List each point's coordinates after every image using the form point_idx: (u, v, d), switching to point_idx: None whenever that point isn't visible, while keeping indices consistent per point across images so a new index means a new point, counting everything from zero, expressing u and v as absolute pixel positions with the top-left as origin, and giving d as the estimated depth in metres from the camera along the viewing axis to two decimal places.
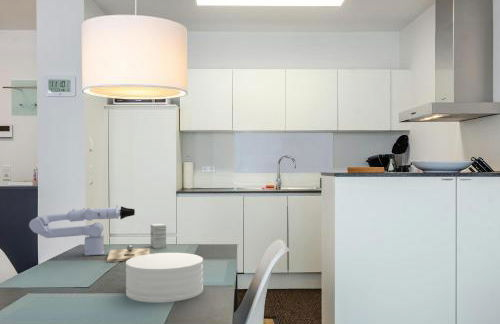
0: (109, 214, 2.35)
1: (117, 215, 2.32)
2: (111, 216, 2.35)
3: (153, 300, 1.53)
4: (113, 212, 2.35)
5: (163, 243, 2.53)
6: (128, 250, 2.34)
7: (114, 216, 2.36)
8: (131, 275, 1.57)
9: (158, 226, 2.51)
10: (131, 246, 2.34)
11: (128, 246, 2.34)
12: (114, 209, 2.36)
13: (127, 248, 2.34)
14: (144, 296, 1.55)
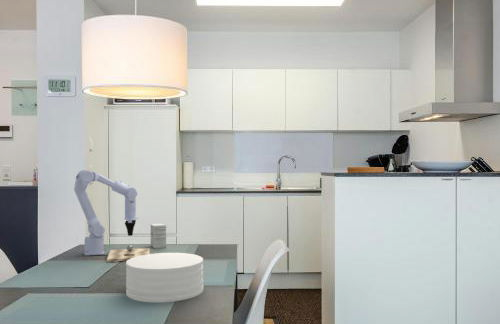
0: (129, 211, 2.43)
1: (129, 220, 2.38)
2: (127, 213, 2.43)
3: (153, 300, 1.53)
4: (131, 215, 2.43)
5: (163, 243, 2.53)
6: (128, 250, 2.34)
7: (127, 216, 2.43)
8: (131, 275, 1.57)
9: (158, 226, 2.51)
10: (131, 246, 2.34)
11: (128, 246, 2.34)
12: (134, 216, 2.44)
13: (127, 248, 2.34)
14: (144, 296, 1.55)
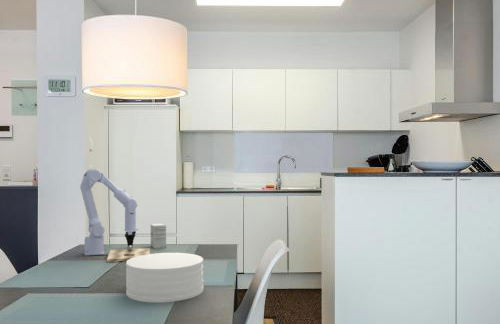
0: (129, 223, 2.42)
1: (129, 232, 2.38)
2: (127, 225, 2.43)
3: (153, 300, 1.53)
4: (131, 227, 2.43)
5: (163, 243, 2.53)
6: (128, 250, 2.34)
7: (127, 228, 2.43)
8: (131, 275, 1.57)
9: (158, 226, 2.51)
10: (131, 246, 2.34)
11: (128, 246, 2.34)
12: (134, 227, 2.44)
13: (127, 248, 2.34)
14: (144, 296, 1.55)
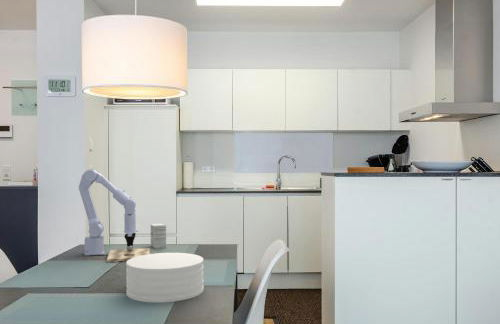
0: (129, 224, 2.37)
1: (128, 234, 2.32)
2: (127, 226, 2.37)
3: (154, 300, 1.53)
4: (131, 228, 2.37)
5: (163, 243, 2.53)
6: (128, 250, 2.34)
7: (127, 229, 2.37)
8: (132, 275, 1.57)
9: (158, 226, 2.51)
10: (131, 246, 2.34)
11: (128, 246, 2.34)
12: (134, 229, 2.38)
13: (127, 248, 2.34)
14: (145, 296, 1.55)
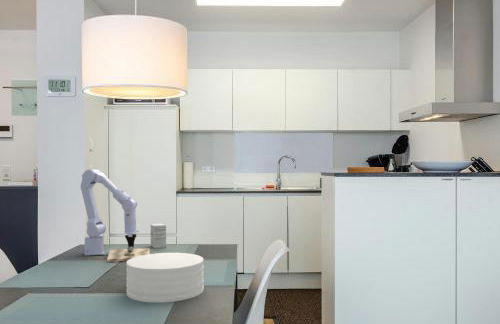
0: (129, 225, 2.31)
1: (129, 234, 2.27)
2: (127, 227, 2.31)
3: (154, 300, 1.53)
4: (131, 228, 2.31)
5: (163, 243, 2.53)
6: None
7: (127, 229, 2.31)
8: (132, 275, 1.57)
9: (158, 226, 2.51)
10: None
11: (129, 251, 2.31)
12: (134, 229, 2.32)
13: None
14: (145, 296, 1.55)
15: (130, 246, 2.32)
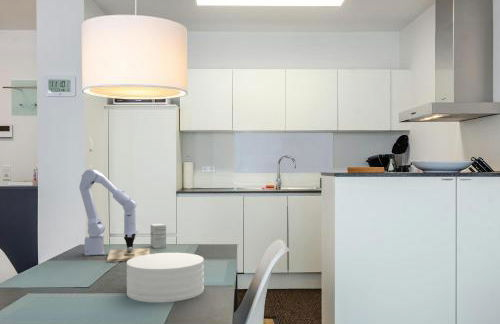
0: (129, 225, 2.34)
1: (128, 235, 2.30)
2: (126, 227, 2.34)
3: (154, 300, 1.53)
4: (131, 229, 2.34)
5: (163, 243, 2.53)
6: None
7: (126, 230, 2.34)
8: (132, 275, 1.57)
9: (158, 226, 2.51)
10: (131, 251, 2.32)
11: (129, 252, 2.31)
12: (133, 230, 2.36)
13: None
14: (145, 296, 1.55)
15: (129, 248, 2.30)
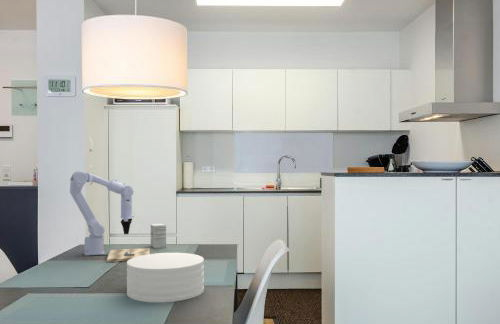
0: (125, 210, 2.41)
1: (125, 219, 2.37)
2: (123, 212, 2.42)
3: (154, 300, 1.53)
4: (127, 214, 2.42)
5: (163, 243, 2.53)
6: None
7: (123, 214, 2.42)
8: (132, 275, 1.57)
9: (158, 226, 2.51)
10: None
11: None
12: (130, 214, 2.43)
13: None
14: (145, 296, 1.55)
15: None
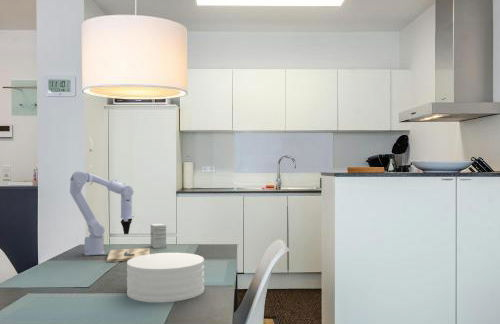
0: (125, 210, 2.41)
1: (125, 219, 2.37)
2: (123, 212, 2.42)
3: (154, 300, 1.53)
4: (127, 214, 2.42)
5: (163, 243, 2.53)
6: None
7: (123, 214, 2.42)
8: (132, 275, 1.57)
9: (158, 226, 2.51)
10: (129, 255, 2.24)
11: (126, 255, 2.23)
12: (130, 214, 2.43)
13: None
14: (145, 296, 1.55)
15: None
